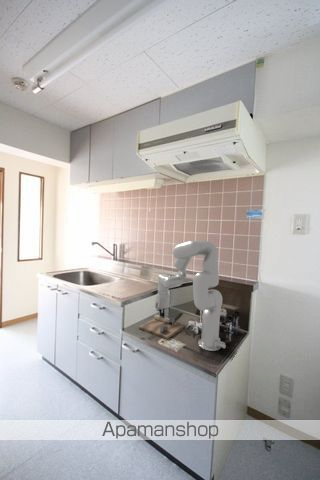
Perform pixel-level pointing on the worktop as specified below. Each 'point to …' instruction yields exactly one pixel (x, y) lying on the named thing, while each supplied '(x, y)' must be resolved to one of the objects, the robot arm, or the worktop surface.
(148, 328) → the lock board
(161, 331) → the block
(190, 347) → the worktop surface
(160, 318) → the bar
